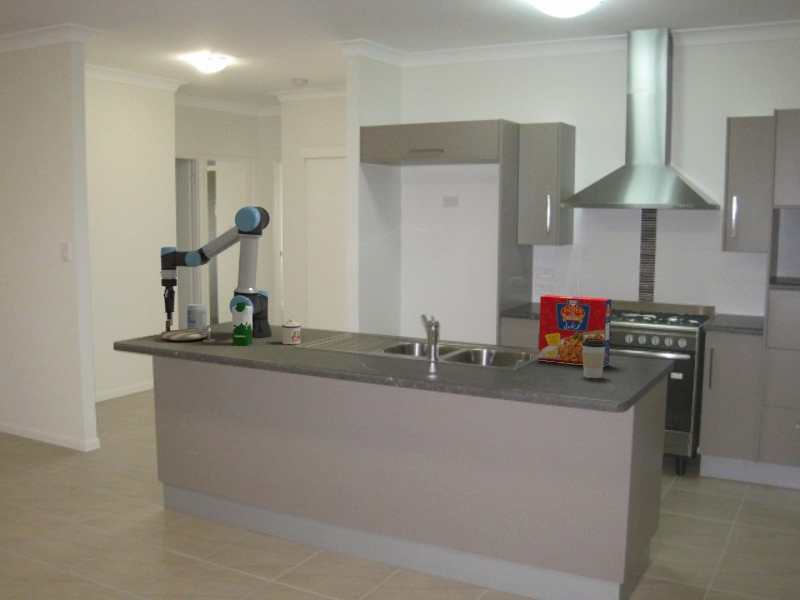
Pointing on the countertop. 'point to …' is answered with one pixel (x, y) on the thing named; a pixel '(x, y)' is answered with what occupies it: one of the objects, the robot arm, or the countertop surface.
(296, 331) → the teacup with lid
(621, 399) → the countertop surface
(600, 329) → the pasta box
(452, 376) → the countertop surface
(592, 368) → the coffee cup
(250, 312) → the milk carton
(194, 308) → the supplement tub
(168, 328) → the lazy susan platter
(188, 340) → the turntable base
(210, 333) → the dial pointer stand
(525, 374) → the countertop surface
